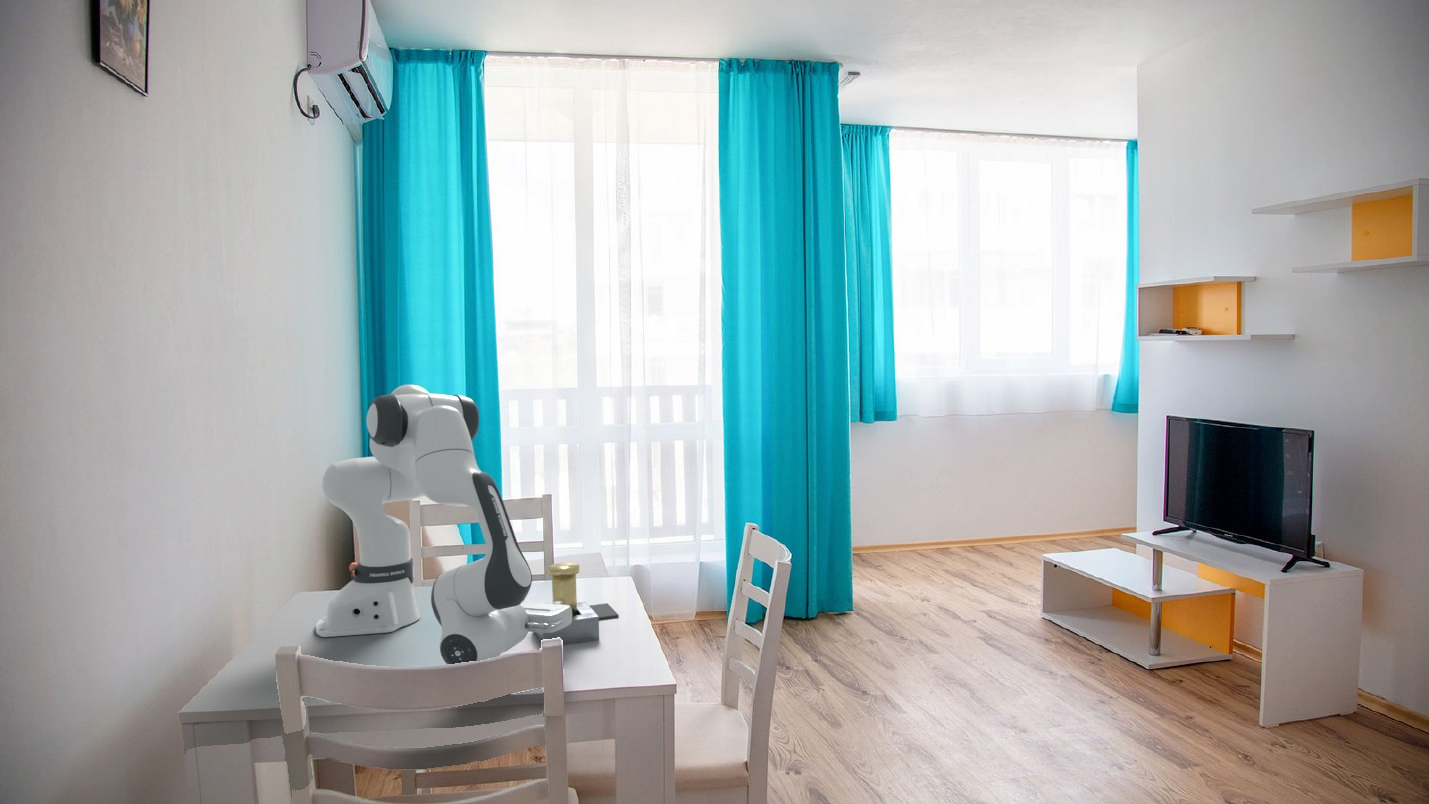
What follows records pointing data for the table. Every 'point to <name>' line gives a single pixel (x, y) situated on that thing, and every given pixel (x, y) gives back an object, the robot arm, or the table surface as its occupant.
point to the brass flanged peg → (564, 584)
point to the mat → (604, 611)
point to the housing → (577, 627)
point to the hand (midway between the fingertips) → (538, 603)
